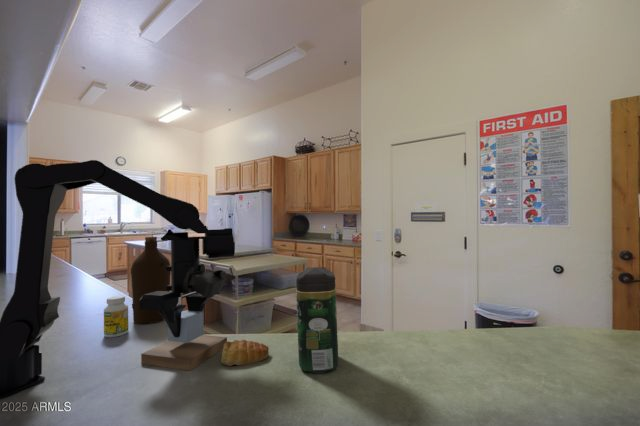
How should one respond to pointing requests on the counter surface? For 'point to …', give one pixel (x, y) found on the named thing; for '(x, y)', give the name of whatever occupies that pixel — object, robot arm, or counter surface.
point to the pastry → (243, 352)
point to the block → (189, 327)
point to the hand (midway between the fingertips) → (186, 332)
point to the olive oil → (148, 280)
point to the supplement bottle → (115, 317)
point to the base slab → (183, 352)
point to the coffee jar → (317, 320)
